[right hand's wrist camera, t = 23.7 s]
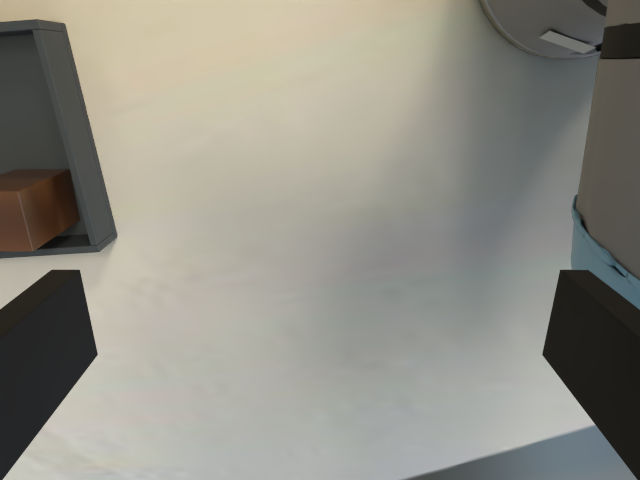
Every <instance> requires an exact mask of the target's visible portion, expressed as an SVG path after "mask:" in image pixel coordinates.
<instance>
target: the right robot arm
mask: <svg viewBox="0 0 640 480" xmlns="http://www.w3.org/2000/svg"><path fill="white" fill-rule="evenodd" d="M480 2H481V5H482V7H483V9H484V11H485V13H486V15H487V17H488V18H489V20H490V22H491V23H492V24H493V26H494V27H495V28H496V29H497V31H498V32H499V33H500V34H501V35H502V36H503V37H504V38H506V39H507V40H508V41H509V42H510V43H512V44H513V45H515V46H516V47H518V48H520V49H522V50H524V51H526V52H528V53H531V54H534V55H537V56H541V57H546V58H553V59H573V58H583V57H588V56H593V55H597V54H600V59H599V60H598V67H597V73H596V80H595V86H594V93H593V100H592V106H591V113H590V119H589V126H588V132H587V139H586V145H585V152H584V159H583V165H582V172H581V178H580V184H579V190H578V194H577V195H576V196H575V197H574V200H573V204H572V217H573V221H574V228H573V241H572V252H571V265H572V270H560V274H559V278H558V283H557V288H556V293H555V297H554V302H553V307H552V312H551V316H550V321H549V326H548V330H547V335H546V340H545V345H544V349H543V354H542V355H543V356H544V357H545V359H546V360H547V361H548V363H549V364H550V365H551V367H552V368H553V369H554V371H555V372H556V373H557V375H558V376H559V377H560V379H561V380H562V381H563V382H564V384H565V385H566V386H567V388H568V389H569V390H570V392H571V393H572V394H573V396H574V397H575V398H576V400H577V401H578V402H579V403H580V405H581V406H582V407H583V409H584V410H585V411H586V413H587V414H588V415H589V417H590V418H591V419H592V421H593V422H594V423H595V424H596V426H597V427H598V428H599V430H600V431H601V432H602V434H603V435H604V436H605V438H606V439H607V440H608V441H609V443H610V444H611V445H612V447H613V448H614V449H615V451H616V452H617V453H618V455H619V456H620V457H621V459H622V460H623V461H624V463H625V464H626V465H627V466H628V468H629V469H630V470H631V472H632V473H633V474H634V476H635V477H636V478H637V480H640V0H480ZM97 355H98V354H97V349H96V345H95V340H94V335H93V330H92V326H91V321H90V316H89V312H88V307H87V302H86V297H85V293H84V288H83V283H82V278H81V274H80V270H51V271H50V272H48V273H47V274H46V275H44V276H43V277H42V278H40V279H39V280H38V281H37V282H35V283H34V284H33V285H31V286H30V287H29V288H28V289H26V290H25V291H24V292H22V293H21V294H20V295H18V296H17V297H16V298H15V299H13V300H12V301H11V302H9V303H8V304H7V305H6V306H4V307H3V308H2V309H0V480H3V478H4V477H5V476H6V474H7V473H8V472H9V470H10V469H11V468H12V466H13V465H14V464H15V463H16V461H17V460H18V459H19V457H20V456H21V455H22V453H23V452H24V451H25V449H26V448H27V447H28V445H29V444H30V443H31V442H32V440H33V439H34V438H35V436H36V435H37V434H38V432H39V431H40V430H41V428H42V427H43V426H44V424H45V423H46V422H47V421H48V419H49V418H50V417H51V415H52V414H53V413H54V411H55V410H56V409H57V407H58V406H59V405H60V403H61V402H62V401H63V400H64V398H65V397H66V396H67V394H68V393H69V392H70V390H71V389H72V388H73V386H74V385H75V384H76V382H77V381H78V380H79V378H80V377H81V376H82V375H83V373H84V372H85V371H86V369H87V368H88V367H89V365H90V364H91V363H92V361H93V360H94V359H95V357H96V356H97Z"/></svg>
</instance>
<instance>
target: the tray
mask: <svg viewBox="0 0 640 480" xmlns="http://www.w3.org/2000/svg"><path fill="white" fill-rule="evenodd" d="M16 169H70V173H71V178H72V183H73V188H74V193H75V198H76V202H77V207H78V212H79V217H80V221H78V222H77V223H75V224H74V225H72V226H71V227H69V228H68V229H66V230H65V231H63V232H62V233H60V234H59V235H57V236H55V237H54V238H52V239H51V240H49V241H48V242H46V243H45V244H43V245H42V246H40V247H39V248H37V249H36V250H34V251H0V258H13V257H28V256H44V255H59V254H74V253H90V252H100V251H101V250H102V249H103V248H104V247H106V246H107V245H108V244H109V243H110V242H111V241H113V240H114V239H115V238H116V237H117V233H116V229H115V225H114V220H113V216H112V212H111V208H110V204H109V200H108V196H107V192H106V188H105V184H104V180H103V176H102V172H101V168H100V164H99V160H98V156H97V152H96V148H95V144H94V140H93V136H92V132H91V128H90V124H89V120H88V116H87V112H86V107H85V103H84V99H83V95H82V91H81V87H80V83H79V79H78V75H77V71H76V67H75V63H74V59H73V55H72V51H71V47H70V43H69V39H68V35H67V31H66V27H65V24H64V23H57V22H51V21H44V20H38V19H36V20H23V21H10V22H0V175H2V174H4V173H7V172H10V171H13V170H16Z"/></svg>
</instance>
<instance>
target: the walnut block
mask: <svg viewBox="0 0 640 480" xmlns="http://www.w3.org/2000/svg"><path fill="white" fill-rule="evenodd" d="M78 221H80V217H79V212H78V207H77V202H76V198H75V193H74V188H73V183H72V178H71V173H70V169H16V170H13V171H10V172H7V173H4V174H2V175H0V251H34V250H36V249H37V248H39V247H40V246H42V245H43V244H45V243H46V242H48V241H49V240H51V239H52V238H54V237H55V236H57V235H59V234H60V233H62V232H63V231H65V230H66V229H68V228H69V227H71V226H72V225H74V224H75V223H77V222H78Z"/></svg>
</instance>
